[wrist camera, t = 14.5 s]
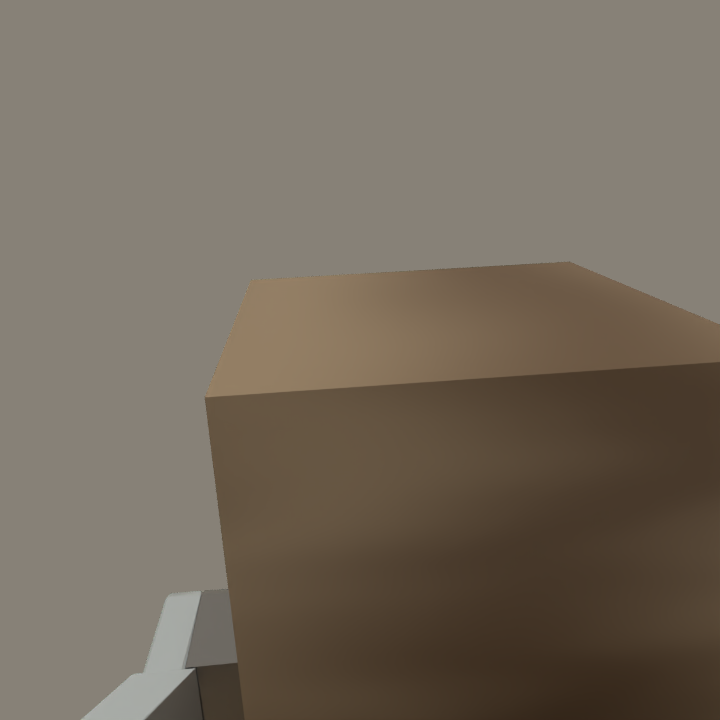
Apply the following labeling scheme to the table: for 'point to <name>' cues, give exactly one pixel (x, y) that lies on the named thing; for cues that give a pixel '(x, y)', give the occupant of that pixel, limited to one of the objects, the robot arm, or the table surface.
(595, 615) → the walnut block
